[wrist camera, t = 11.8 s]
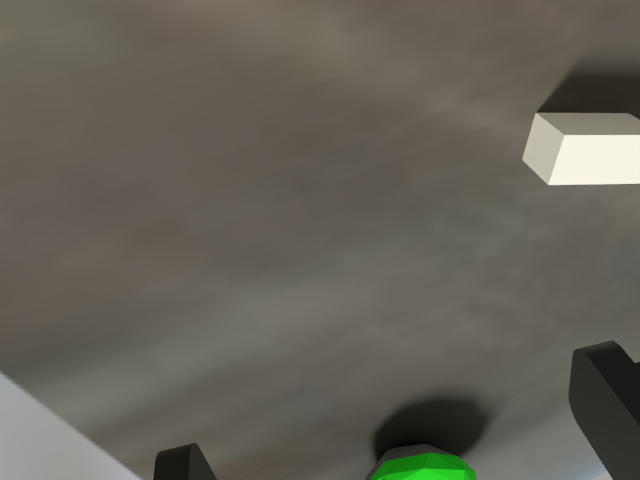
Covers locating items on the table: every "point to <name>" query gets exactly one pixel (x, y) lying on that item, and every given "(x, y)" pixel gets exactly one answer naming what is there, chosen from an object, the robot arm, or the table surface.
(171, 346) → the table surface
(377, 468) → the salad bowl
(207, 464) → the robot arm
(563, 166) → the cream brick
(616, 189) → the table surface
